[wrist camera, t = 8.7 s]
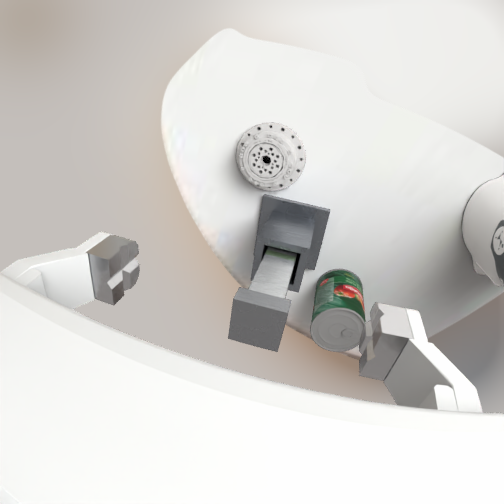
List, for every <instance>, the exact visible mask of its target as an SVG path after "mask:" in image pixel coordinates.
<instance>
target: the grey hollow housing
mask: <svg viewBox="0 0 504 504" xmlns="http://www.w3.org/2000/svg"><path fill="white" fill-rule="evenodd" d="M329 213H330V209H326V208H322V207H318V206H313V205H309V204H305V203H301V202H296V201H292V200H288V199H283V198H279V197H274V196H270V195H264V196H263V201H262V207H261V214H260V220H259V226H258V232H257V238H256V244H255V250H254V255H255V257H254V263H253V269H252V275H251V281H253V279H254V276H255V274H256V272H257V270H258V268H259V266H260V264H261V262H262V260H263V257H264V255H265V253H266V251H267V249H268V247H269V246H272V247H276V248H280V249H284V250H288V251H292V252H296V253H297V257H296V261H295V265H294V269H293V273H292V276H291V280H290V284H289V287H288V290H290V291H294V292H298V293H299V289H300V285H301V282H302V278H303V274H304V270H305V268H308V269H312V270H315V267H316V263H317V259H318V256H319V252H320V248H321V244H322V241H323V237H324V233H325V229H326V225H327V221H328V217H329Z"/></svg>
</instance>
